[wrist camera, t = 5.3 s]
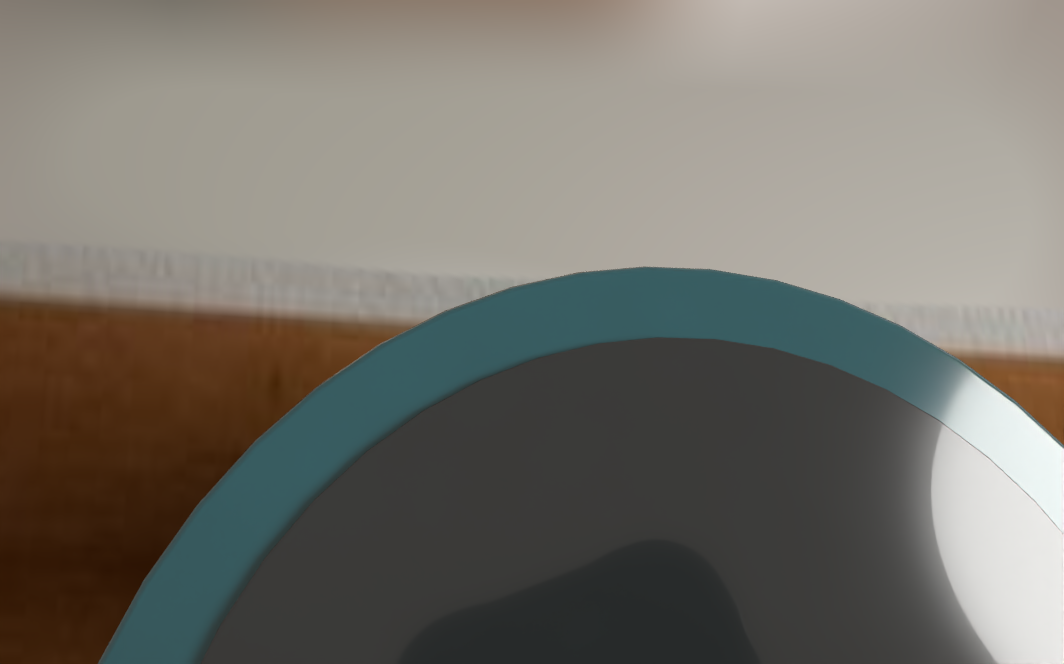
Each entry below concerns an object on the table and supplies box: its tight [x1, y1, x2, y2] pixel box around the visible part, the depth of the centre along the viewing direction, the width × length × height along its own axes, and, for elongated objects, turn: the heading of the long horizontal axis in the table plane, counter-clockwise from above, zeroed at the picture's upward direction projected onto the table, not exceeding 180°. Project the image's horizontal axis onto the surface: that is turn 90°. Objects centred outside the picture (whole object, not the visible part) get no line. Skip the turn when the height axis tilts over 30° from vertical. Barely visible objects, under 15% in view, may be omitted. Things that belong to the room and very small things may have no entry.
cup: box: [98, 267, 1064, 664], centre depth 8 cm, size 7×7×10 cm
